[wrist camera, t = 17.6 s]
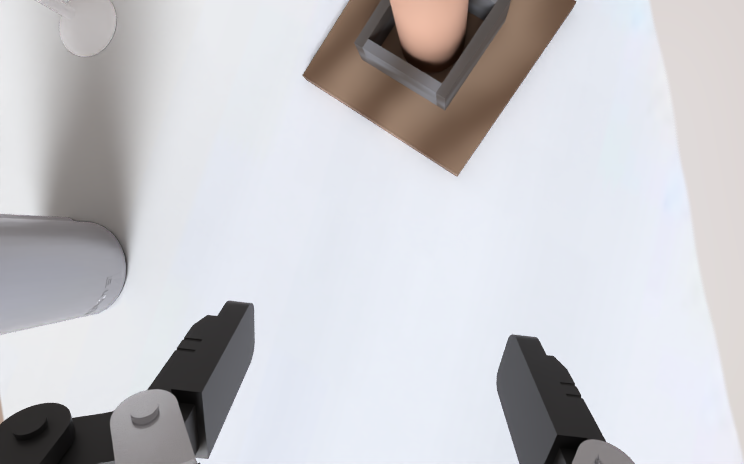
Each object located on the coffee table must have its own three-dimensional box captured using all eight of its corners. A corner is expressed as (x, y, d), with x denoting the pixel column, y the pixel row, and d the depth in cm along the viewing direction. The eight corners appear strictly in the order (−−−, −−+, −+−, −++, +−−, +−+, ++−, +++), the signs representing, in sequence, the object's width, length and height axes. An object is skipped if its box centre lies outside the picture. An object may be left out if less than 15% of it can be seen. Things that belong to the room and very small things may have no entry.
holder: (306, 79, 36) (289, 60, 32) (407, -81, 35) (402, -121, 31) (457, 176, 34) (458, 168, 30) (572, 8, 32) (590, -23, 28)
